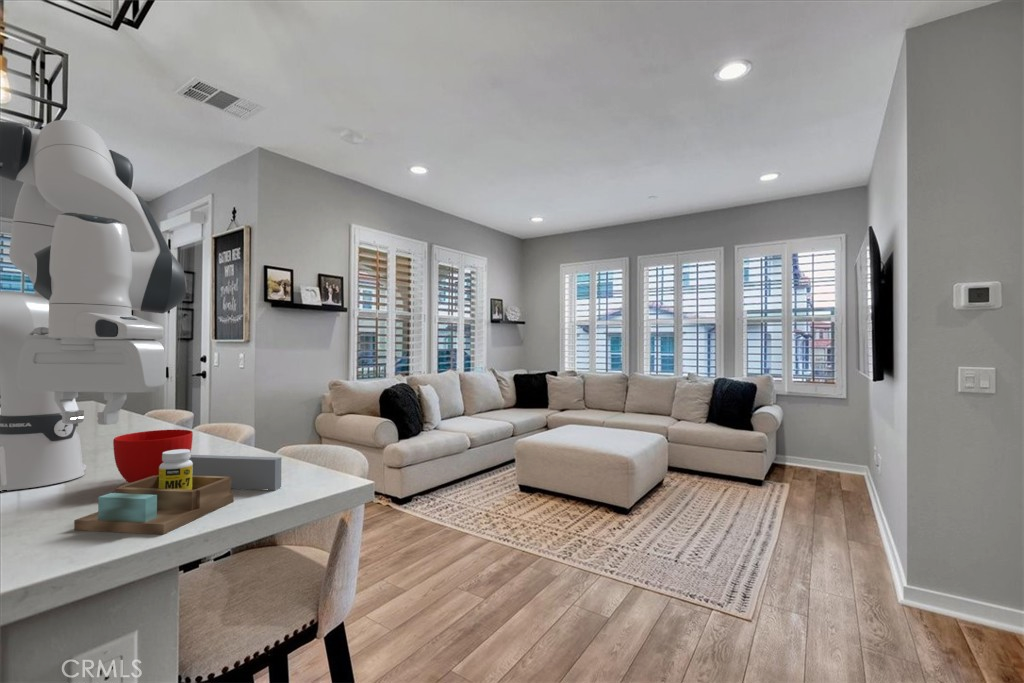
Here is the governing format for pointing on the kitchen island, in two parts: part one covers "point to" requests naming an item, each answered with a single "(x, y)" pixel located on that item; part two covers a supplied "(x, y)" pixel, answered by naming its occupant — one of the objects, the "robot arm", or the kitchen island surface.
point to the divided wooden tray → (156, 506)
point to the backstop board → (241, 470)
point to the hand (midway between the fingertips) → (90, 423)
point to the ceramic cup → (147, 451)
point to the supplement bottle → (176, 470)
